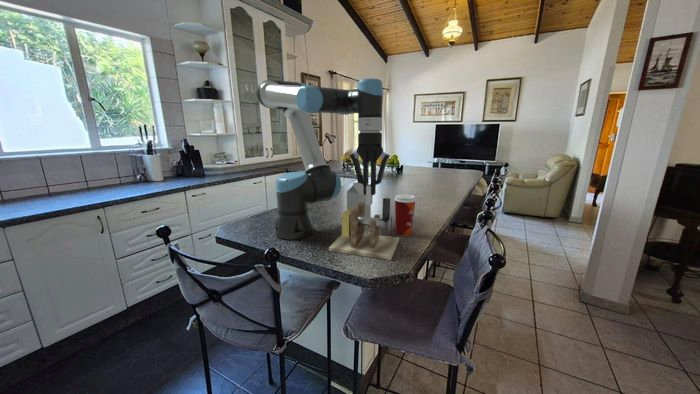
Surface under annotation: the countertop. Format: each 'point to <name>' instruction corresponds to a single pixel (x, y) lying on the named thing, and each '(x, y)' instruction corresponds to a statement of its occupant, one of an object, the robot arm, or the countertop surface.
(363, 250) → the wooden stand with blocks
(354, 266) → the countertop surface
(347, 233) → the spacer
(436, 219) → the countertop surface
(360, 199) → the milk carton
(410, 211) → the coffee cup
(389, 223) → the silver bent bar
